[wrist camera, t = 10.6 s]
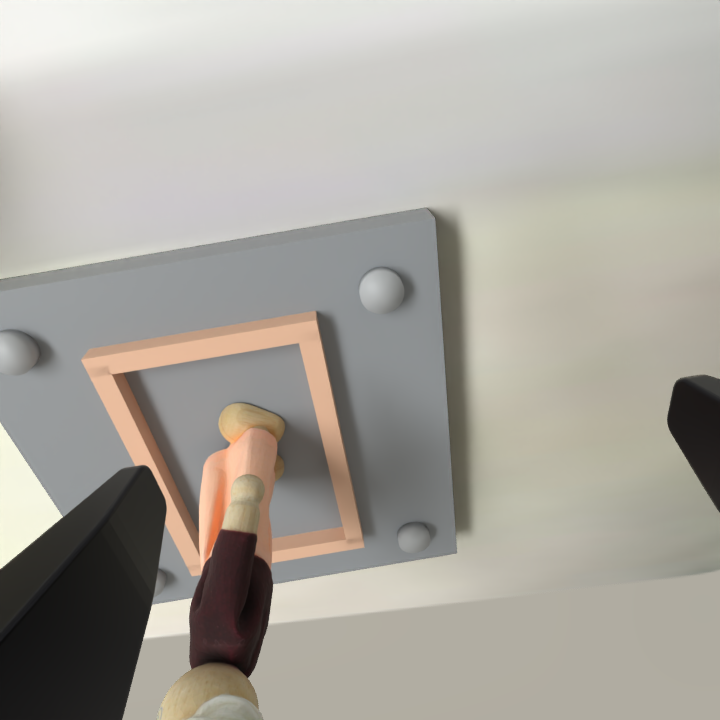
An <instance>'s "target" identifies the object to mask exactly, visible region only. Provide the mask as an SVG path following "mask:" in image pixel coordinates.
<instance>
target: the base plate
mask: <svg viewBox="0 0 720 720" xmlns="http://www.w3.org/2000/svg"><path fill="white" fill-rule="evenodd" d="M233 403H246V404H250V405H253V406H255V407H258V408H260V409H263V410H266V411H268V412H271V413H273V414H275V415H278V416H279V417H281V418H282V420H283V421H284V423H285V430H284V433H283V436H282V437H281V439H280V440H279V441H278V442H277V447H278V448H277V455H279V456H280V457H281V458H282V459H283V461H284V473H283V474H282V476H281V477H280V478H279V479H278V480H277V481H275V485H274V490H273V495H272V498H271V502H270V505H269V518H270V523H271V531H272V563H271V572H272V579H273V584H277V583H283V582H289V581H295V580H301V579H307V578H313V577H319V576H325V575H331V574H337V573H343V572H349V571H355V570H361V569H367V568H373V567H379V566H384V565H390V564H396V563H402V562H408V561H414V560H420V559H426V558H432V557H438V556H444V555H450V554H456V553H457V546H456V530H455V515H454V499H453V484H452V469H451V453H450V438H449V422H448V407H447V391H446V376H445V361H444V345H443V330H442V314H441V299H440V283H439V268H438V252H437V237H436V222H435V217H434V216H433V215H432V214H431V212H430V211H429V210H428V209H427V208H421V209H416V210H410V211H404V212H398V213H392V214H386V215H380V216H374V217H368V218H362V219H356V220H350V221H344V222H338V223H333V224H327V225H321V226H315V227H309V228H303V229H297V230H291V231H285V232H279V233H273V234H267V235H261V236H255V237H250V238H244V239H238V240H232V241H226V242H220V243H214V244H208V245H202V246H196V247H190V248H184V249H178V250H172V251H167V252H161V253H155V254H149V255H143V256H137V257H131V258H125V259H119V260H113V261H107V262H101V263H95V264H90V265H84V266H78V267H72V268H66V269H60V270H54V271H48V272H42V273H36V274H30V275H24V276H18V277H12V278H7V279H1V280H0V422H1V424H2V425H3V427H4V428H5V430H6V431H7V433H8V435H9V436H10V438H11V439H12V441H13V442H14V444H15V445H16V447H17V448H18V450H19V451H20V453H21V454H22V456H23V457H24V459H25V460H26V462H27V463H28V465H29V466H30V468H31V469H32V471H33V472H34V474H35V475H36V477H37V478H38V480H39V481H40V483H41V484H42V486H43V487H44V489H45V490H46V492H47V493H48V495H49V496H50V498H51V499H52V501H53V502H54V504H55V505H56V507H57V508H58V510H59V511H60V513H61V514H62V516H63V517H64V516H65V515H66V514H67V513H69V512H70V511H71V510H72V509H73V508H75V507H76V506H77V505H78V504H79V503H81V502H82V501H83V500H84V499H85V498H87V497H88V496H89V495H90V494H91V493H93V492H94V491H95V490H96V489H97V488H99V487H100V486H101V485H102V484H103V483H105V482H106V481H107V480H108V479H109V478H111V477H112V476H113V475H114V474H115V473H117V472H118V471H119V470H120V469H122V468H126V467H132V466H138V465H146V466H148V467H149V468H150V469H151V471H152V473H153V475H154V477H155V479H156V481H157V483H158V485H159V487H160V489H161V491H162V493H163V495H164V497H165V500H166V505H167V513H166V520H165V527H164V533H163V540H162V547H161V554H160V561H159V567H158V574H157V581H156V587H155V593H154V598H153V602H152V605H153V604H159V603H165V602H170V601H176V600H182V599H188V598H193V596H194V592H195V589H196V587H197V584H198V582H199V580H200V578H201V574H202V571H201V564H200V550H199V504H200V491H201V483H202V475H203V466H204V464H205V462H206V460H207V459H208V457H209V456H211V455H212V454H213V453H215V452H217V451H220V450H223V449H227V448H228V447H229V445H230V442H229V441H228V440H226V439H225V438H224V437H223V435H222V434H221V432H220V429H219V425H218V423H219V417H220V414H221V412H222V411H223V410H224V408H226V407H227V406H228V405H231V404H233Z"/></svg>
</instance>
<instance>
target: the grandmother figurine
mask: <svg viewBox="0 0 720 720" xmlns="http://www.w3.org/2000/svg"><path fill="white" fill-rule="evenodd" d="M218 425H219V429H220V432H221V434H222V435H223V437H224V438H225V439H226V440H228V441H229V442H230V445H229V447H228V448H227V449H223V450H220V451H217V452H215V453H213V454H212V455H211V456H209V457H208V459H207V460H206V462H205V464H204V466H203V475H202V483H201V491H200V504H199V550H200V564H201V571H202V574H201V578H200V580H199V582H198V584H197V587H196V589H195V592H194V596H193V599H192V602H191V607H190V615H189V623H190V655H189V658H190V665H191V668H192V669H191V670H190V671H188V672H187V673H185V674H184V675H183V676H182V677H181V678H180V679H179V680H177V681H176V682H175V683H174V685H173V686H172V687H171V688H170V690H169V691H168V693H167V694H166V696H165V698H164V700H163V702H162V704H161V707H160V709H159V712H158V715H157V719H156V720H263V717H262V714H261V713H260V711H259V708H258V700H257V695H256V693H255V690H254V688H253V686H252V684H251V683H250V681H249V680H248V677H249V676H250V675H251V673H252V671H253V670H254V668H255V666H256V663H257V660H258V657H259V653H260V650H261V646H262V642H263V639H264V636H265V633H266V629H267V626H268V621H269V614H270V606H271V599H272V592H273V579H272V572H271V563H272V531H271V523H270V518H269V505H270V502H271V498H272V495H273V490H274V485H275V481H277V480H278V479H279V478H280V477H281V476H282V474H283V473H284V461H283V459H282V458H281V457H280V456H279V455H277V448H278V447H277V442H278V441H279V440H280V439H281V437H282V436H283V433H284V430H285V423H284V421H283V420H282V418H281V417H279V416H278V415H275V414H273V413H271V412H268V411H266V410H263V409H260V408H258V407H255V406H253V405H250V404H246V403H233V404H231V405H228V406H227V407H226V408H224V410H223V411H222V412H221V414H220V417H219V423H218Z"/></svg>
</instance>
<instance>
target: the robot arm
mask: <svg viewBox="0 0 720 720" xmlns="http://www.w3.org/2000/svg"><path fill="white" fill-rule="evenodd" d="M667 422H668V427H669V430H670V432H671V434H672V436H673V437H674V439H675V440H676V442H677V444H678V445H679V447H680V449H681V450H682V452H683V454H684V455H685V457H686V459H687V460H688V462H689V464H690V465H691V467H692V469H693V470H694V472H695V474H696V475H697V477H698V479H699V480H700V482H701V484H702V485H703V487H704V489H705V490H706V492H707V494H708V495H709V497H710V498H711V500H712V502H713V503H714V505H715V506H716V508H717V509H718V511H719V512H720V379H717V378H714V377H711V376H708V375H696V376H690V377H684V378H680V379H678V380H677V381H676V382H675V384H674V387H673V392H672V397H671V401H670V406H669V411H668V417H667ZM166 513H167V505H166V500H165V497H164V495H163V493H162V491H161V489H160V487H159V485H158V483H157V481H156V479H155V477H154V475H153V473H152V471H151V469H150V468H149V467H148V466H146V465H138V466H132V467H126V468H122V469H120V470H119V471H118V472H117V473H115V474H114V475H113V476H112V477H111V478H109V479H108V480H107V481H106V482H105V483H103V484H102V485H101V486H100V487H99V488H97V489H96V490H95V491H94V492H93V493H91V494H90V495H89V496H88V497H87V498H85V499H84V500H83V501H82V502H81V503H79V504H78V505H77V506H76V507H75V508H73V509H72V510H71V511H70V512H69V513H67V514H66V515H65V516H64V517H63V518H61V519H60V520H59V521H58V522H57V523H55V524H54V525H53V526H52V527H51V528H49V529H48V530H47V531H46V532H45V533H43V534H42V535H41V536H40V537H39V538H37V539H36V540H35V541H34V542H33V543H31V544H30V545H29V546H28V547H27V548H25V549H24V550H23V551H22V552H21V553H19V554H18V555H17V556H16V557H15V558H13V559H12V560H11V561H10V562H9V563H7V564H6V565H5V566H4V567H3V568H1V569H0V720H122V718H123V714H124V711H125V707H126V703H127V698H128V695H129V691H130V687H131V684H132V679H133V676H134V672H135V668H136V664H137V660H138V657H139V653H140V649H141V645H142V641H143V637H144V634H145V630H146V626H147V622H148V618H149V614H150V610H151V606H152V602H153V598H154V593H155V587H156V581H157V574H158V567H159V561H160V554H161V547H162V540H163V533H164V527H165V520H166Z"/></svg>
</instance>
